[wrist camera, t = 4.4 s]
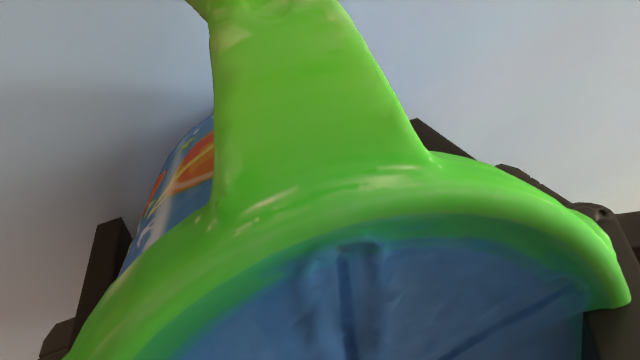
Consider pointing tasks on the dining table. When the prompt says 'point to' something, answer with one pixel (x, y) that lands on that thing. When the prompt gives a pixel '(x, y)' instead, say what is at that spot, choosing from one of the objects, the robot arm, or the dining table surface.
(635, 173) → the dining table surface
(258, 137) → the snack cup
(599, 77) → the dining table surface
